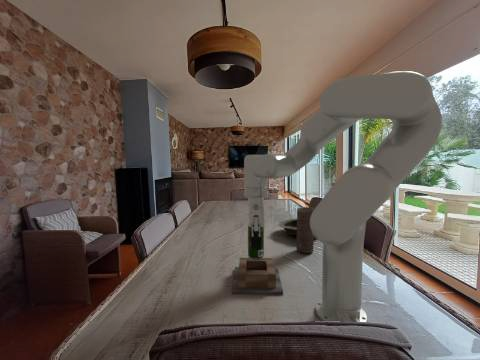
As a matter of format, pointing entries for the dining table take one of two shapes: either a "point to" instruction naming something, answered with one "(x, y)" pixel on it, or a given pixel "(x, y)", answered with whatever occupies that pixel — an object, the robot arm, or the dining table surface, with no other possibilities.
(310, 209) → the brown cylinder
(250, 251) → the beer can
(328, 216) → the robot arm
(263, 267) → the well block
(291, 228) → the stone bowl
